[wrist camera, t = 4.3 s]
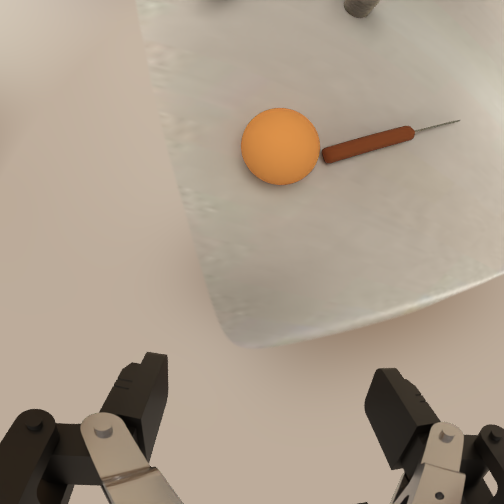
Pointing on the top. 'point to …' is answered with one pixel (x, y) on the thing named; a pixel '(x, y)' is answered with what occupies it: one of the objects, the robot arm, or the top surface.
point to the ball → (280, 146)
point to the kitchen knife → (370, 143)
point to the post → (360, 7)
